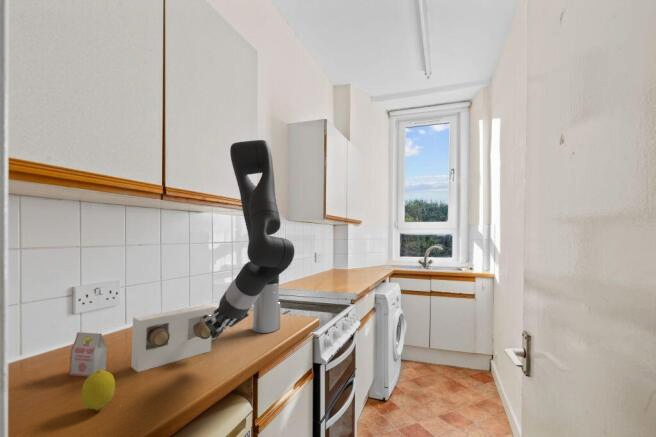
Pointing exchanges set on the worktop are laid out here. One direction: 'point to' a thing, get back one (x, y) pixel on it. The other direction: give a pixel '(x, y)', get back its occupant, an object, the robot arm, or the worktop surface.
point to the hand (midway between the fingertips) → (213, 334)
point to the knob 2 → (201, 330)
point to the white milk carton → (87, 354)
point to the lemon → (98, 389)
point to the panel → (179, 341)
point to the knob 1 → (158, 336)
